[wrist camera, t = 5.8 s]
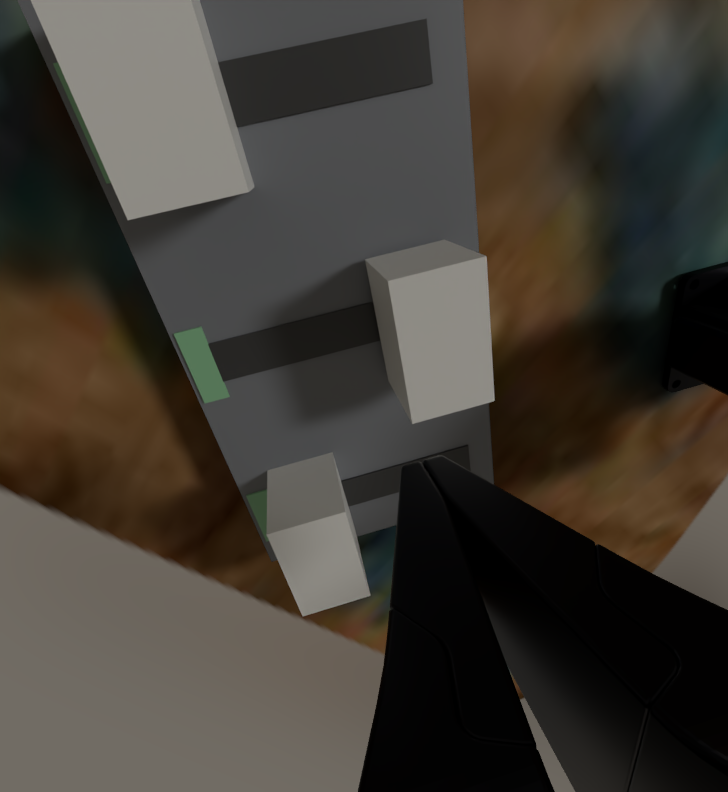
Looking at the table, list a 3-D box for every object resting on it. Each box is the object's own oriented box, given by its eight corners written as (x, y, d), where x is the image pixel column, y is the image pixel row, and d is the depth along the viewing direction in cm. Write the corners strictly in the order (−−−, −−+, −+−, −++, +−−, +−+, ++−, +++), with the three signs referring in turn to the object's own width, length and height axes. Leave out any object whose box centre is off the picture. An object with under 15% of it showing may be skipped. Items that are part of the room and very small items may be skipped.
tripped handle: (444, 239, 16) (486, 256, 13) (457, 362, 18) (494, 401, 15) (365, 259, 15) (387, 281, 12) (388, 380, 18) (412, 423, 15)
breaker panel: (433, -58, 14) (530, -196, 8) (478, 472, 24) (534, 553, 19) (49, 18, 13) (-101, -86, 8) (271, 532, 23) (271, 634, 18)
